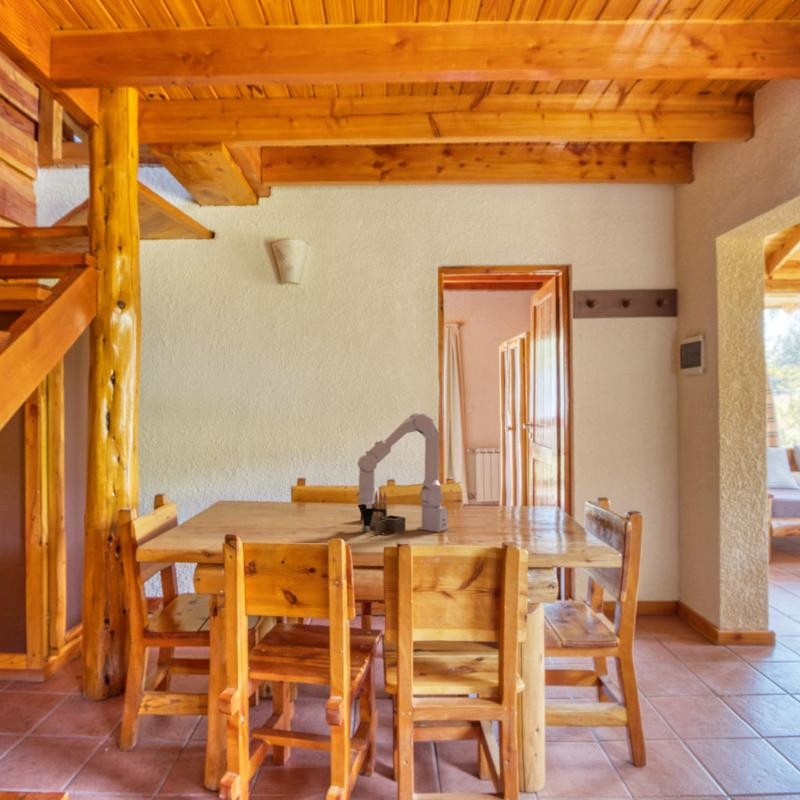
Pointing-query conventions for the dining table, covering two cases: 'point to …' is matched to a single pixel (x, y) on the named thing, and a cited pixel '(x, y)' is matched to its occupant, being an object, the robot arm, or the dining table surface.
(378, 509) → the ammunition clip
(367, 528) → the pin
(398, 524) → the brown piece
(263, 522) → the dining table surface
